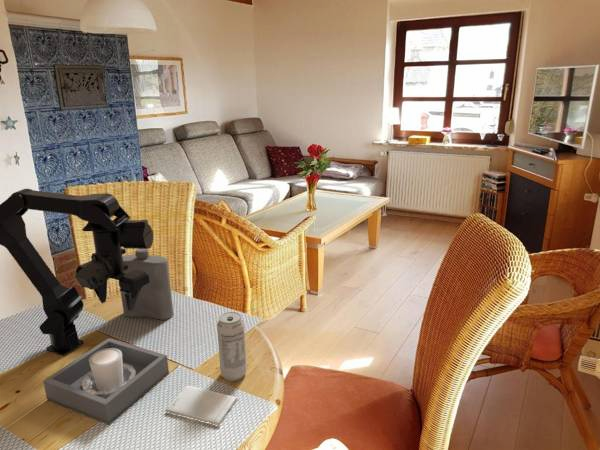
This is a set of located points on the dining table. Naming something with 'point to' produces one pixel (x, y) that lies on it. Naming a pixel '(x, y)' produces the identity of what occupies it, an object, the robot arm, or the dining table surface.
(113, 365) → the white short cylinder
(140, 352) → the walled box
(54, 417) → the dining table surface
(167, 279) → the flask
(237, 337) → the energy drink can
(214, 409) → the grey flat slab
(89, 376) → the collar
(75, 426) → the dining table surface
